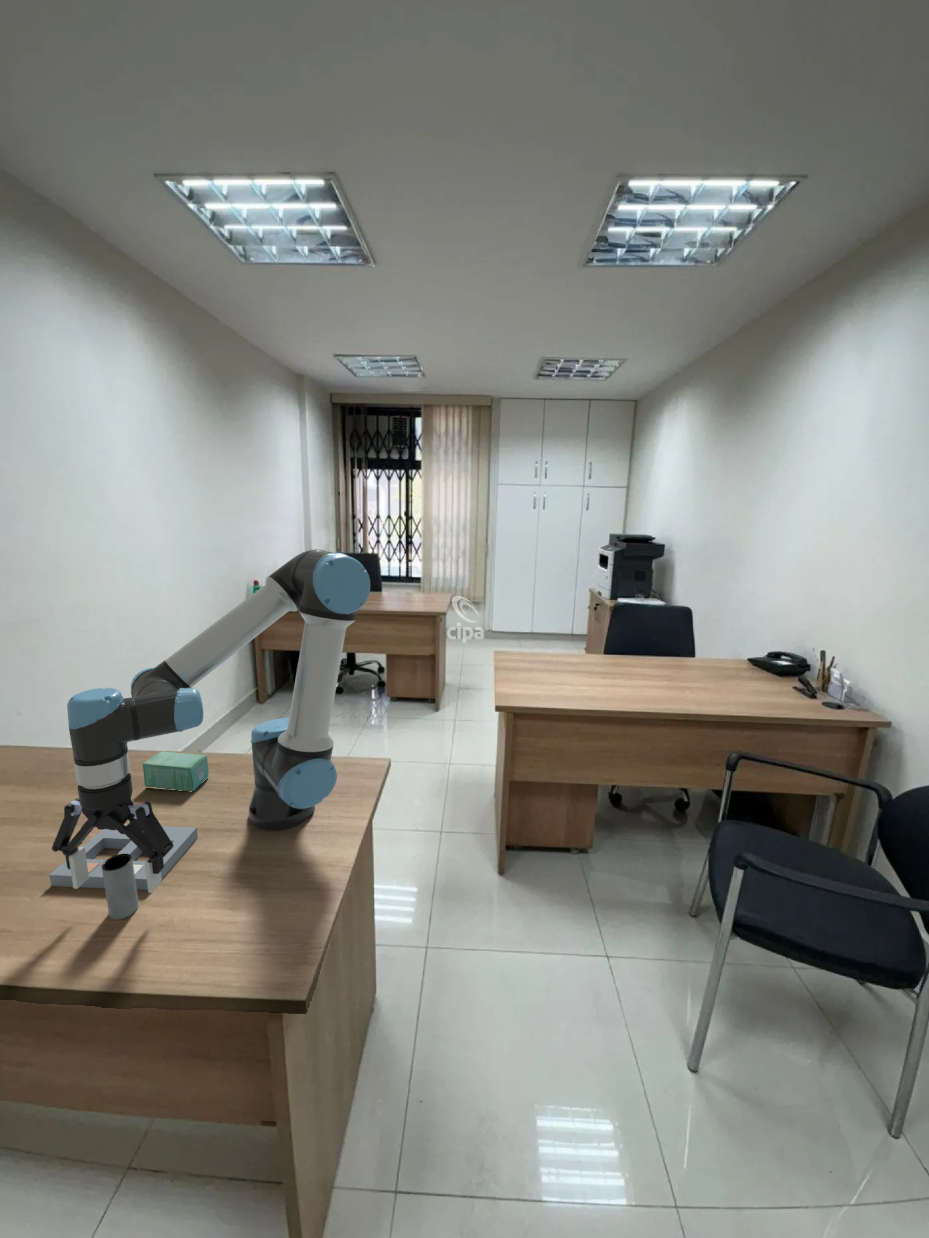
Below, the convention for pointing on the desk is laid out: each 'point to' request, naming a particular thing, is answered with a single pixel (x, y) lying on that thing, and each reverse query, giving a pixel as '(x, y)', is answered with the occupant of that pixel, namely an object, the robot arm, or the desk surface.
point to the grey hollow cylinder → (120, 886)
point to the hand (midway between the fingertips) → (118, 885)
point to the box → (175, 771)
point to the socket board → (114, 839)
